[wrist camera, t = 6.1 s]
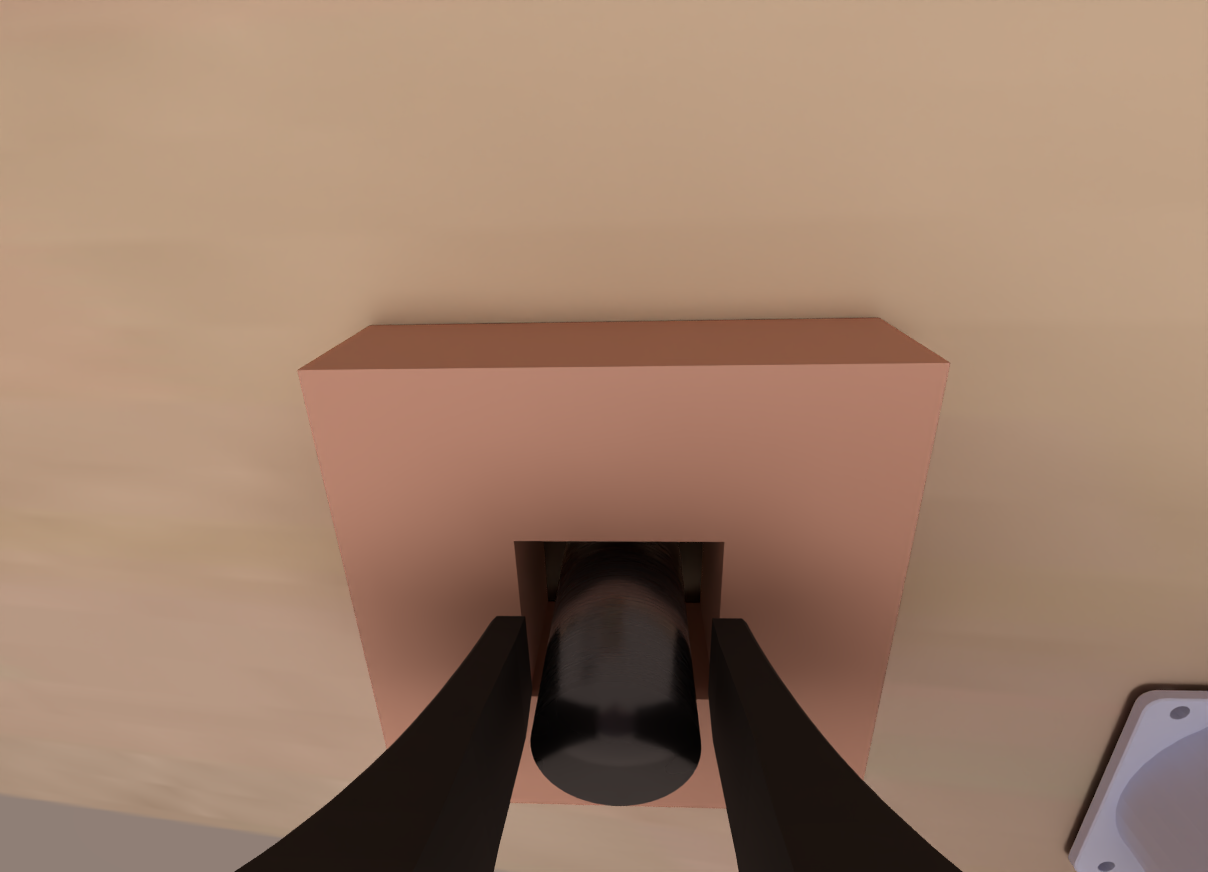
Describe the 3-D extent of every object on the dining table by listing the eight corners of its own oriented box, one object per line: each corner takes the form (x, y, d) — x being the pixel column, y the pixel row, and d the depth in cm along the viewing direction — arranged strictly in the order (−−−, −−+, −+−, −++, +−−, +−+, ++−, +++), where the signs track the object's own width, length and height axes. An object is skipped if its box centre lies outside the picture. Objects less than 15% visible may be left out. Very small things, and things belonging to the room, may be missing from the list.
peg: (678, 483, 17) (705, 685, 10) (676, 576, 18) (698, 808, 11) (567, 484, 17) (523, 682, 10) (571, 575, 18) (536, 803, 12)
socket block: (879, 317, 14) (950, 363, 11) (819, 702, 19) (856, 811, 16) (369, 325, 15) (297, 370, 12) (437, 696, 20) (399, 799, 17)
